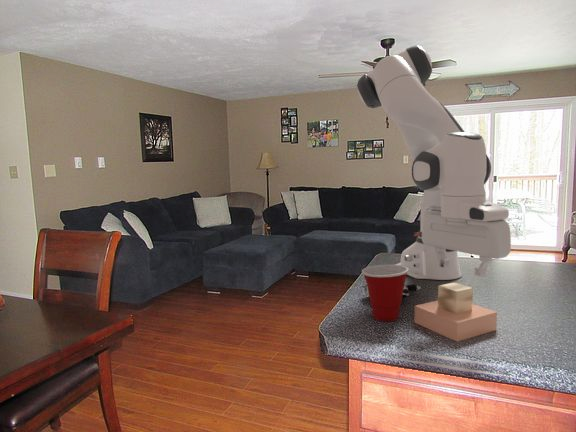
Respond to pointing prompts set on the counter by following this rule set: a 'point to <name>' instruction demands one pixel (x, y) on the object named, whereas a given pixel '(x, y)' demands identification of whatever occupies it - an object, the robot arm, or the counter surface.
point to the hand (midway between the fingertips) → (461, 271)
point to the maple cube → (455, 298)
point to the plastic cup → (385, 290)
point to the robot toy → (405, 291)
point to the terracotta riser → (456, 321)
